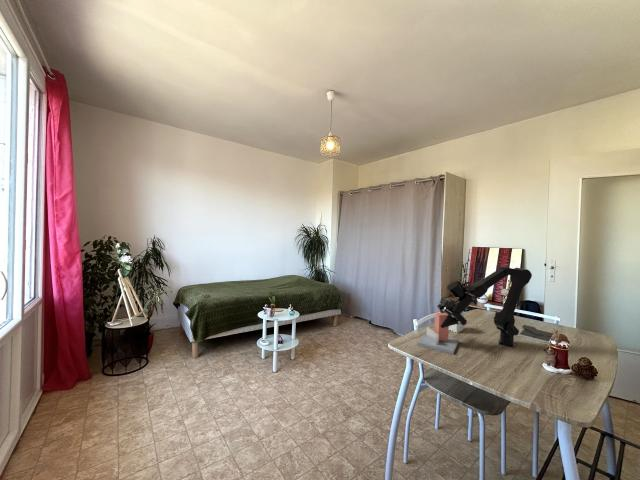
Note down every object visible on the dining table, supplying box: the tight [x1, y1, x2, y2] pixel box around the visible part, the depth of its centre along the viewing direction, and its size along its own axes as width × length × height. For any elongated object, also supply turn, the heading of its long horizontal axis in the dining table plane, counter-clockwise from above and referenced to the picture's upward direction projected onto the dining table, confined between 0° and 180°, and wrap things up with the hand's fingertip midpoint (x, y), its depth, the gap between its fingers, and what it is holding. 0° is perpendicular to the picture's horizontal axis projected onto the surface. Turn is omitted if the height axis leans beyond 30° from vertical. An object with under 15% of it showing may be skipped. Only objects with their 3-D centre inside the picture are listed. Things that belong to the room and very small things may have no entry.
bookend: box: [426, 326, 439, 345], centre depth 134 cm, size 10×1×5 cm, turn 3°
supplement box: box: [449, 311, 465, 334], centre depth 154 cm, size 7×7×13 cm
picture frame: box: [514, 324, 555, 345], centre depth 147 cm, size 16×3×21 cm
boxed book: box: [434, 312, 449, 340], centre depth 134 cm, size 5×4×12 cm
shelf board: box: [416, 331, 460, 355], centre depth 134 cm, size 18×16×2 cm
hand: (439, 325), depth 134 cm, fingers closed on boxed book, 4 cm apart
